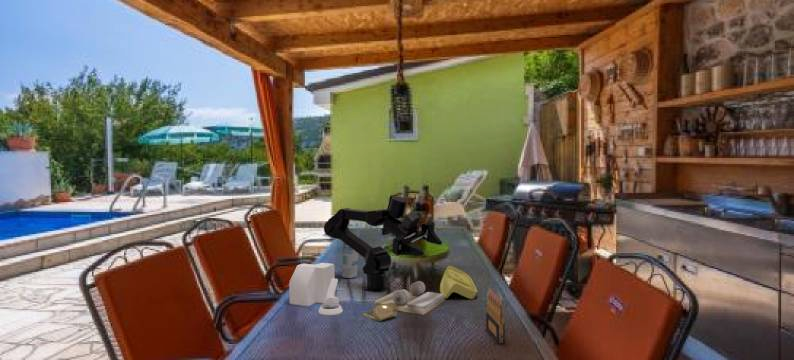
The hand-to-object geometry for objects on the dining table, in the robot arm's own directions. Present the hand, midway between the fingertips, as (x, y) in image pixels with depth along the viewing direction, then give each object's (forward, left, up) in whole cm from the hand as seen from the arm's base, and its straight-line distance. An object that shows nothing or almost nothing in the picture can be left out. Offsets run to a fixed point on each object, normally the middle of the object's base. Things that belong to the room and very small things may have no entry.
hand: (432, 248), depth 164 cm
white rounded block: (-37, -17, -19) cm, 45 cm away
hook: (-25, -23, -19) cm, 39 cm away
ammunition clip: (+28, -20, -19) cm, 39 cm away
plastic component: (+3, +16, -19) cm, 24 cm away
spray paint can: (-44, +15, -18) cm, 50 cm away
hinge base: (-6, -5, -18) cm, 20 cm away
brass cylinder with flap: (-9, -20, -18) cm, 28 cm away
